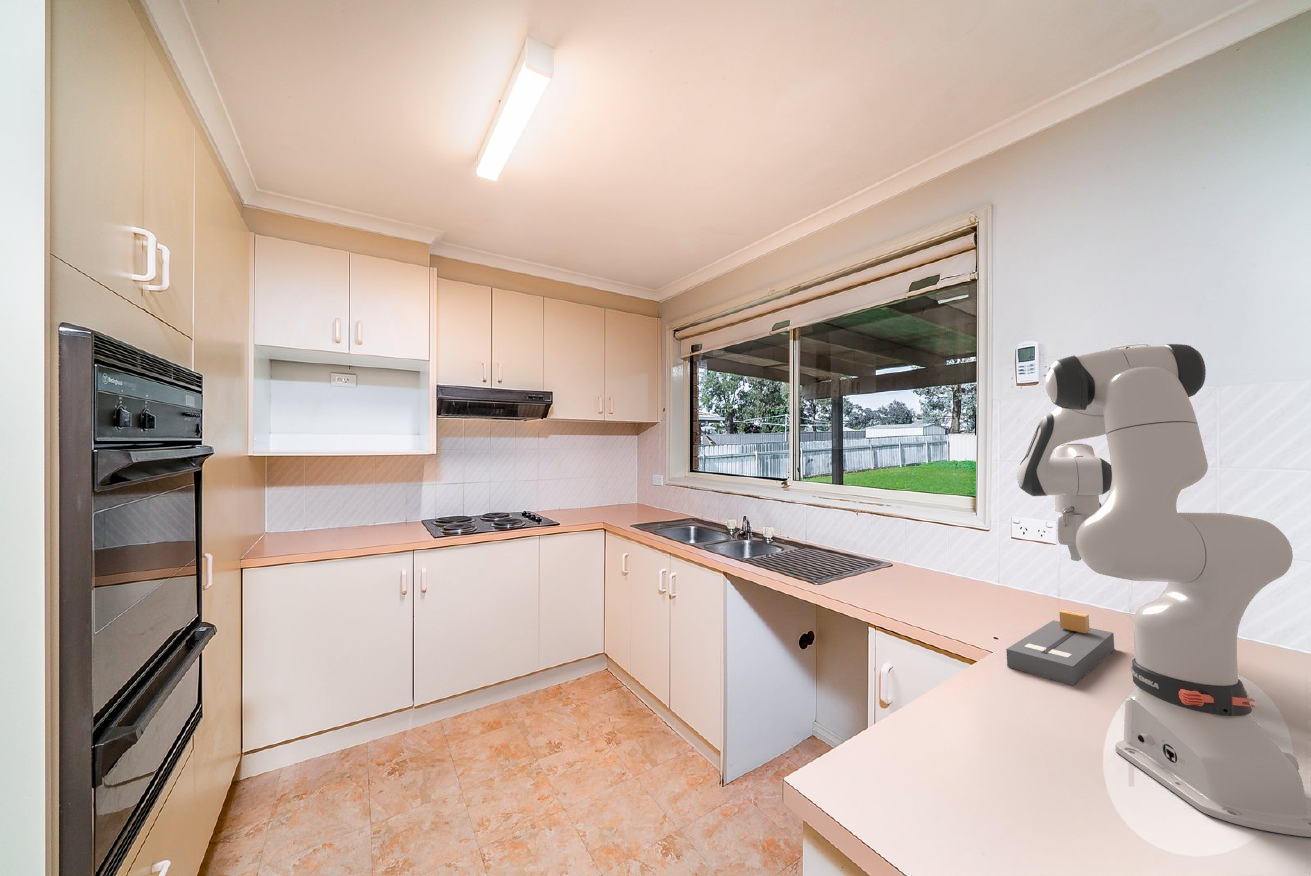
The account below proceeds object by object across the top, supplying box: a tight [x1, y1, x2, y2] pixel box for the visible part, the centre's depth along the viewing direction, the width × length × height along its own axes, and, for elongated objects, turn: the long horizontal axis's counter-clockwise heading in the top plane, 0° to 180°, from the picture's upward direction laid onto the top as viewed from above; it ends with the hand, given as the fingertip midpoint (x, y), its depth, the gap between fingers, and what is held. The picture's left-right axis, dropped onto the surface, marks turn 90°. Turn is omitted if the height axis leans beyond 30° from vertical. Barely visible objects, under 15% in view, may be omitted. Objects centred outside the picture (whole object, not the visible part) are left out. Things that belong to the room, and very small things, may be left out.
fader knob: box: [1059, 609, 1090, 633], centre depth 122 cm, size 3×5×4 cm, turn 35°
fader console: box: [1005, 619, 1115, 687], centre depth 116 cm, size 32×12×4 cm, turn 125°
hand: (1079, 558), depth 127 cm, fingers open, 5 cm apart
